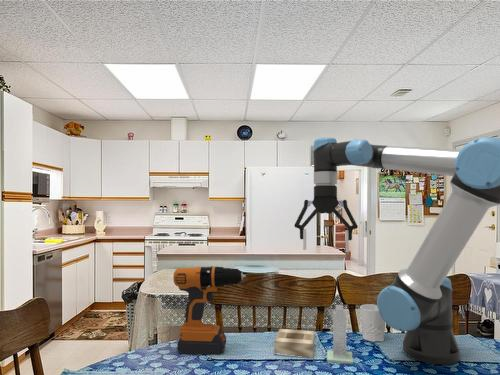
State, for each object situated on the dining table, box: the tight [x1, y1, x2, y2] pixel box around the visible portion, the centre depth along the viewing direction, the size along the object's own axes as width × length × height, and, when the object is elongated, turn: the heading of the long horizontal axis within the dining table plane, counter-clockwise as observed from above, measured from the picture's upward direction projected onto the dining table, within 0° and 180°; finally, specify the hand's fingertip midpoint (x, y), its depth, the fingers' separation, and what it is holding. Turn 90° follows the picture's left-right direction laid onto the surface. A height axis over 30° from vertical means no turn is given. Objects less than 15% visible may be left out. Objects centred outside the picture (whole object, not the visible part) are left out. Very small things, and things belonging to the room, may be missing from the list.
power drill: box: [173, 265, 247, 355], centre depth 114 cm, size 22×7×25 cm, turn 87°
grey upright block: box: [332, 304, 347, 359], centre depth 109 cm, size 4×6×14 cm, turn 168°
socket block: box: [273, 328, 316, 359], centre depth 115 cm, size 11×11×4 cm
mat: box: [326, 349, 354, 365], centre depth 108 cm, size 7×7×1 cm
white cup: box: [359, 303, 386, 343], centre depth 124 cm, size 8×8×10 cm
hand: (325, 250), depth 124 cm, fingers open, 13 cm apart
